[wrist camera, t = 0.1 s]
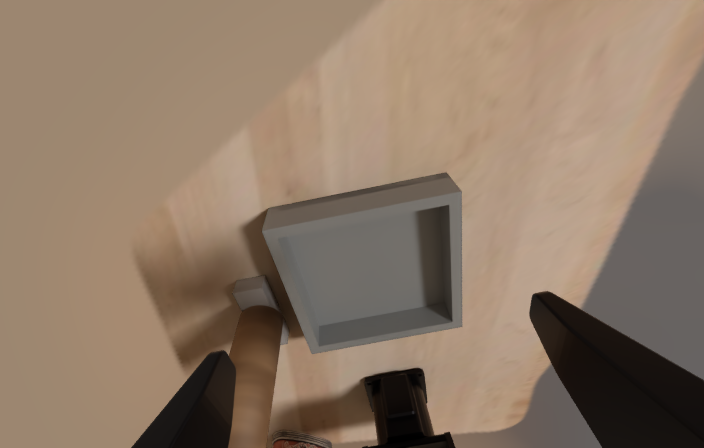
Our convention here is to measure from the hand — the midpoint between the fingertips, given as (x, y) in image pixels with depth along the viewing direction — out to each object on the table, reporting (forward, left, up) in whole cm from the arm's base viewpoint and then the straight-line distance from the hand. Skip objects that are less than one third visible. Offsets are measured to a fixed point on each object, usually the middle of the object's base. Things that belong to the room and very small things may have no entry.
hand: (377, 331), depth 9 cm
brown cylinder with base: (-12, +10, -15) cm, 22 cm away
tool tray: (-9, 0, -15) cm, 17 cm away
